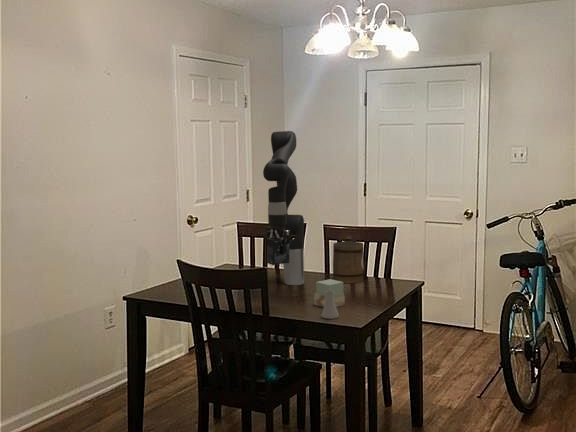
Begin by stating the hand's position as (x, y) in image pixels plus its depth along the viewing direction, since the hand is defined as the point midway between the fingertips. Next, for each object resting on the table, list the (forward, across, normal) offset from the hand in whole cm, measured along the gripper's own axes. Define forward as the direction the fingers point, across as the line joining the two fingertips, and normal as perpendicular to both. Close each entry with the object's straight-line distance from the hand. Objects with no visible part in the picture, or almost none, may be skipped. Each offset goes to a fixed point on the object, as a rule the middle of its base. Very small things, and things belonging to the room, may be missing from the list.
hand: (278, 253), depth 267 cm
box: (+4, 0, 0) cm, 4 cm away
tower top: (+18, +12, +18) cm, 28 cm away
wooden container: (+23, -18, +56) cm, 63 cm away
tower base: (+23, +11, +18) cm, 31 cm away
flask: (+23, +25, +6) cm, 34 cm away
